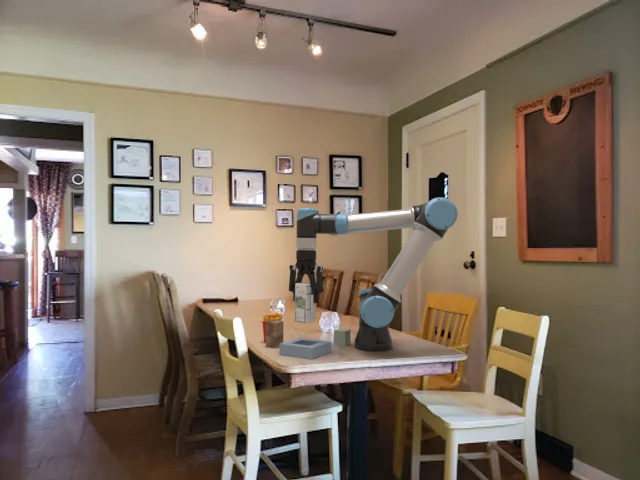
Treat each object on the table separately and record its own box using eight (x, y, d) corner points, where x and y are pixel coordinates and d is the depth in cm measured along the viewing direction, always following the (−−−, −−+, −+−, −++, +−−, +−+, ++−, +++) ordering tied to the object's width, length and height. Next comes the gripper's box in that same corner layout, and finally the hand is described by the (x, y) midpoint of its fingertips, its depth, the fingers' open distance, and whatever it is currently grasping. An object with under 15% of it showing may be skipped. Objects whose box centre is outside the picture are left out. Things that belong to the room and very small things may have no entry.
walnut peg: (283, 346, 193) (283, 321, 193) (276, 348, 189) (276, 322, 189) (273, 344, 195) (273, 320, 196) (265, 347, 191) (265, 321, 191)
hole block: (331, 352, 183) (331, 341, 183) (312, 359, 170) (312, 348, 171) (299, 347, 190) (299, 337, 190) (279, 354, 177) (279, 343, 178)
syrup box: (316, 321, 180) (316, 283, 181) (305, 323, 176) (305, 283, 176) (305, 320, 184) (305, 282, 184) (294, 321, 180) (294, 282, 180)
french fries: (264, 343, 197) (265, 314, 197) (261, 342, 201) (261, 313, 201) (283, 341, 201) (283, 313, 201) (279, 340, 205) (280, 312, 205)
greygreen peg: (350, 344, 198) (350, 329, 198) (344, 346, 194) (344, 331, 194) (339, 343, 200) (339, 328, 201) (333, 345, 196) (334, 330, 196)
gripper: (333, 250, 179) (332, 312, 179) (290, 249, 189) (289, 308, 188) (323, 249, 172) (322, 314, 172) (279, 249, 182) (278, 310, 182)
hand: (305, 311), depth 180 cm, fingers closed on syrup box, 6 cm apart
